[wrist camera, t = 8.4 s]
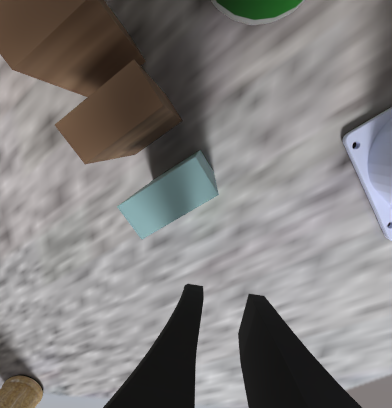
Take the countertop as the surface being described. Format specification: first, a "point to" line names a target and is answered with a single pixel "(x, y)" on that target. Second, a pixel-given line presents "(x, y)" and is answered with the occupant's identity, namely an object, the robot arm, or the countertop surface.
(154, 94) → the domino
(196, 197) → the loose domino
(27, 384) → the sprinkles bottle
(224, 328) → the countertop surface
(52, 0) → the domino
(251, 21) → the soda can
